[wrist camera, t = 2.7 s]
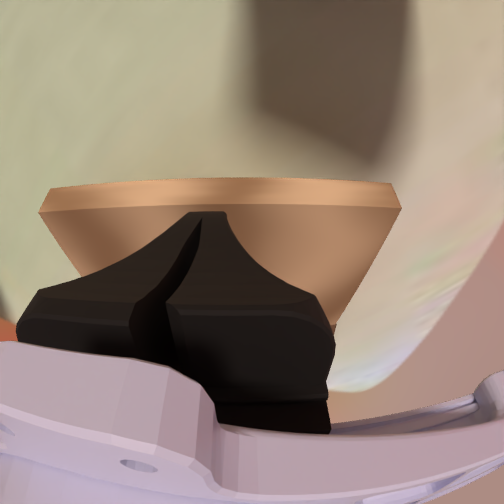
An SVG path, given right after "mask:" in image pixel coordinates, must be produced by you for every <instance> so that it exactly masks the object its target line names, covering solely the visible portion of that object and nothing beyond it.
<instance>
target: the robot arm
mask: <svg viewBox="0 0 504 504" xmlns="http://www.w3.org/2000/svg"><path fill="white" fill-rule="evenodd" d="M16 334H17V338H18V341H3V342H0V504H422V503H425V502H427V501H430V500H433V499H435V498H438V497H440V496H442V495H445V494H447V493H449V492H452V491H454V490H456V489H458V488H461V487H462V486H465V485H467V484H469V483H471V482H473V481H475V480H477V479H479V478H481V477H483V476H485V475H487V474H489V473H491V472H493V471H494V470H496V469H498V468H499V467H501V466H502V465H504V370H502V371H499V372H496V373H493V374H491V375H489V376H488V377H486V378H485V379H484V380H483V381H482V382H481V383H480V384H479V385H478V387H477V388H476V389H475V391H474V393H472V394H469V395H466V396H463V397H460V398H457V399H453V400H449V401H446V402H442V403H439V404H435V405H431V406H427V407H423V408H419V409H415V410H411V411H406V412H401V413H397V414H391V415H386V416H381V417H375V418H369V419H363V420H357V421H350V422H342V423H334V424H331V423H330V418H329V413H328V407H327V402H326V400H327V399H328V389H327V384H326V380H327V377H328V374H329V371H330V368H331V365H332V362H333V358H334V355H335V347H336V343H335V340H334V335H333V331H332V328H331V326H330V323H329V321H328V319H327V317H326V315H325V312H324V310H323V309H322V307H321V305H320V303H319V301H318V299H317V297H316V296H315V295H314V294H311V293H309V292H307V291H304V290H302V289H300V288H297V287H295V286H293V285H290V284H289V283H287V282H285V281H283V280H281V279H280V278H278V277H276V276H275V275H273V274H272V273H270V272H269V271H267V270H266V269H265V268H263V267H262V266H261V265H259V264H258V263H257V262H256V261H255V260H254V259H253V258H252V257H251V256H250V255H249V254H248V252H247V251H246V250H245V249H244V248H243V246H242V245H241V244H240V242H239V241H238V239H237V238H236V236H235V234H234V233H233V231H232V229H231V227H230V225H229V223H228V220H227V214H226V213H225V212H224V211H197V212H188V213H187V214H185V215H184V216H183V217H182V218H180V219H179V220H178V221H177V222H176V223H174V224H173V225H172V226H171V227H169V228H168V229H167V230H166V231H165V232H163V233H162V234H161V235H159V236H158V237H156V238H155V239H154V240H152V241H151V242H150V243H148V244H147V245H145V246H144V247H142V248H141V249H139V250H138V251H136V252H134V253H133V254H131V255H129V256H128V257H126V258H124V259H122V260H120V261H118V262H116V263H114V264H112V265H110V266H108V267H105V268H103V269H101V270H99V271H97V272H94V273H92V274H89V275H86V276H84V277H81V278H78V279H75V280H72V281H69V282H66V283H62V284H58V285H55V286H51V287H47V288H43V289H39V290H38V291H37V293H36V294H35V296H34V297H33V299H32V300H31V302H30V303H29V305H28V306H27V308H26V310H25V311H24V313H23V314H22V316H21V317H20V319H19V321H18V322H17V326H16Z"/></svg>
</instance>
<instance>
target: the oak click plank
mask: <svg viewBox="0 0 504 504" xmlns="http://www.w3.org/2000/svg"><path fill="white" fill-rule="evenodd" d="M401 209H402V207H401V205H400V203H399V200H398V198H397V196H396V193H395V191H394V189H393V187H392V184H391V183H379V182H365V181H349V180H330V179H304V178H191V179H165V180H145V181H129V182H115V183H103V184H91V185H80V186H71V187H61V188H52V189H50V190H49V192H48V194H47V196H46V198H45V200H44V202H43V204H42V206H41V208H40V210H39V212H38V213H39V214H40V216H41V218H42V219H43V221H44V222H45V224H46V226H47V227H48V229H49V230H50V232H51V233H52V235H53V236H54V238H55V239H56V241H57V242H58V244H59V245H60V247H61V248H62V250H63V251H64V253H65V254H66V255H67V257H68V258H69V260H70V261H71V262H72V264H73V265H74V267H75V268H76V269H77V271H78V272H79V274H80V275H81V276H82V277H84V276H86V275H89V274H92V273H94V272H97V271H99V270H101V269H103V268H105V267H108V266H110V265H112V264H114V263H116V262H118V261H120V260H122V259H124V258H126V257H128V256H129V255H131V254H133V253H134V252H136V251H138V250H139V249H141V248H142V247H144V246H145V245H147V244H148V243H150V242H151V241H152V240H154V239H155V238H156V237H158V236H159V235H161V234H162V233H163V232H165V231H166V230H167V229H168V228H169V227H171V226H172V225H173V224H174V223H176V222H177V221H178V220H179V219H180V218H182V217H183V216H184V215H185V214H187V213H188V212H197V211H224V212H225V213H226V214H227V220H228V223H229V225H230V227H231V229H232V231H233V233H234V234H235V236H236V238H237V239H238V241H239V242H240V244H241V245H242V246H243V248H244V249H245V250H246V251H247V252H248V254H249V255H250V256H251V257H252V258H253V259H254V260H255V261H256V262H257V263H258V264H259V265H261V266H262V267H263V268H265V269H266V270H267V271H269V272H270V273H272V274H273V275H275V276H276V277H278V278H280V279H281V280H283V281H285V282H287V283H289V284H290V285H293V286H295V287H297V288H300V289H302V290H304V291H307V292H309V293H311V294H314V295H315V296H316V297H317V299H318V301H319V303H320V305H321V307H322V309H323V310H324V312H325V315H326V317H327V319H328V321H329V323H330V325H335V324H336V322H337V321H338V319H339V318H340V316H341V314H342V313H343V311H344V310H345V308H346V306H347V305H348V303H349V302H350V300H351V298H352V297H353V295H354V293H355V292H356V290H357V289H358V287H359V285H360V283H361V282H362V280H363V278H364V277H365V275H366V273H367V272H368V270H369V268H370V266H371V265H372V263H373V261H374V259H375V258H376V256H377V254H378V252H379V250H380V249H381V247H382V245H383V243H384V241H385V239H386V238H387V236H388V234H389V232H390V230H391V228H392V226H393V224H394V222H395V220H396V219H397V217H398V215H399V213H400V211H401Z"/></svg>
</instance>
